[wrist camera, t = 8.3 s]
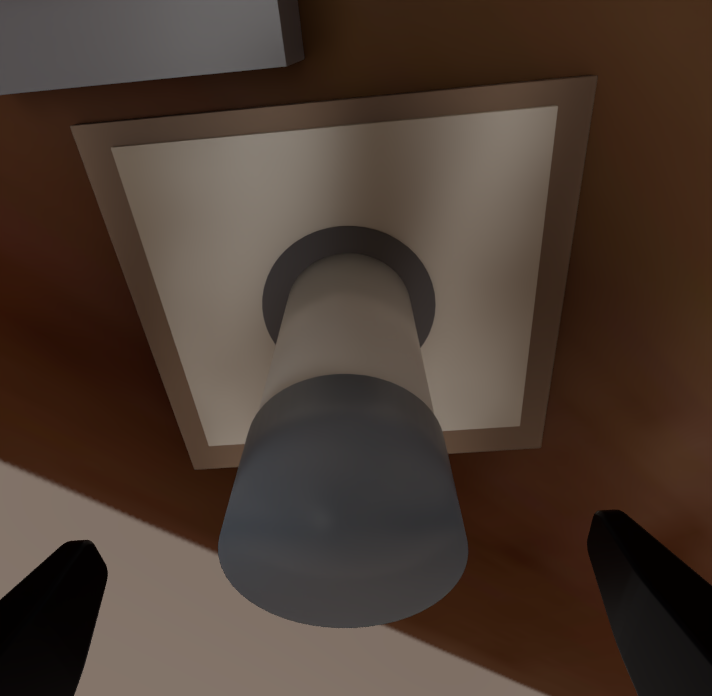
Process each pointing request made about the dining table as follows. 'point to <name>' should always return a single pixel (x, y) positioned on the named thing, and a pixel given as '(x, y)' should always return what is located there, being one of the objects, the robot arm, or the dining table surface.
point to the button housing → (141, 40)
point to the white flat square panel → (352, 241)
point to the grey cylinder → (345, 462)
